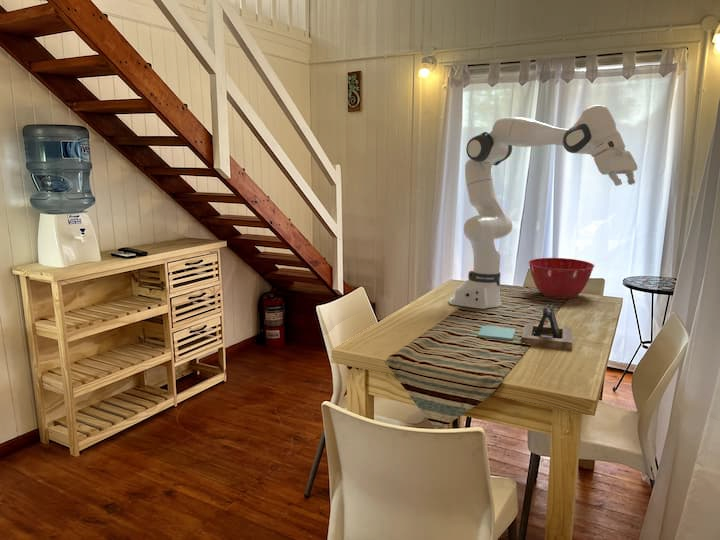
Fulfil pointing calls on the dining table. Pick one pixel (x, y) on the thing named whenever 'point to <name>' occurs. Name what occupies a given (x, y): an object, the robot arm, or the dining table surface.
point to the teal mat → (497, 332)
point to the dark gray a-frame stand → (552, 322)
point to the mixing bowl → (560, 276)
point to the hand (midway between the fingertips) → (625, 184)
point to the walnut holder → (546, 341)
